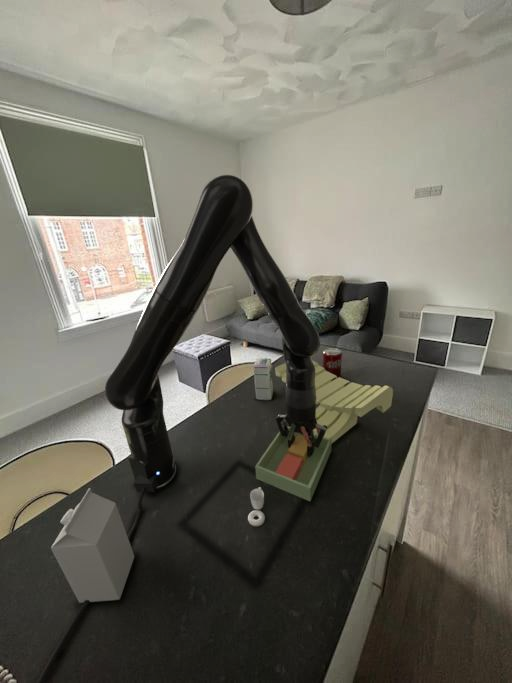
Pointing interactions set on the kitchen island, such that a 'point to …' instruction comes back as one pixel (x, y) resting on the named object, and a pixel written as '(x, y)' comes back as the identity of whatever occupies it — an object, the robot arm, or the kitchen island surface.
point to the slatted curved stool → (342, 400)
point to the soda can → (332, 361)
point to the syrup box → (263, 379)
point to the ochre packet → (299, 448)
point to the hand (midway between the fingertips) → (301, 451)
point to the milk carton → (94, 549)
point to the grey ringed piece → (256, 507)
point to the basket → (308, 474)
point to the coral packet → (290, 467)
